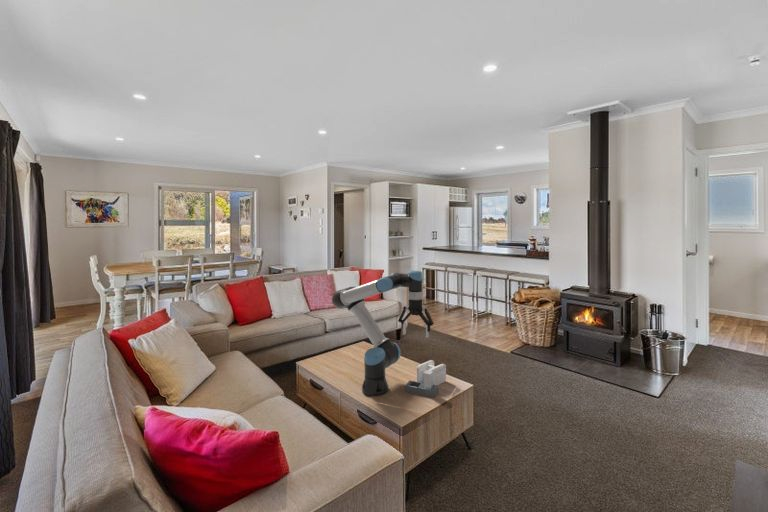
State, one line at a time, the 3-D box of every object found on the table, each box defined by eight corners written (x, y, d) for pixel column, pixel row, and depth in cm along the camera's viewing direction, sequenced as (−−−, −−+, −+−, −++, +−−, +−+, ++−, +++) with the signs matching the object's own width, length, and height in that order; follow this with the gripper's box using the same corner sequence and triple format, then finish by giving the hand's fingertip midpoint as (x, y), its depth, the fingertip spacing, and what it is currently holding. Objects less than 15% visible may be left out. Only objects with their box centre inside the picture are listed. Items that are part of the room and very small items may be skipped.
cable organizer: (433, 376, 227) (433, 358, 226) (446, 382, 219) (447, 363, 218) (416, 384, 217) (416, 365, 216) (430, 390, 209) (430, 371, 208)
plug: (423, 393, 204) (423, 373, 203) (426, 390, 209) (426, 369, 207) (430, 395, 203) (430, 374, 201) (433, 391, 207) (433, 370, 206)
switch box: (405, 392, 207) (405, 385, 207) (409, 387, 214) (409, 380, 213) (434, 398, 200) (434, 390, 200) (438, 392, 207) (438, 385, 206)
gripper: (392, 298, 206) (392, 335, 209) (435, 302, 196) (435, 340, 198) (397, 295, 213) (397, 331, 215) (439, 299, 203) (439, 336, 205)
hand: (415, 335), depth 207 cm, fingers open, 13 cm apart
